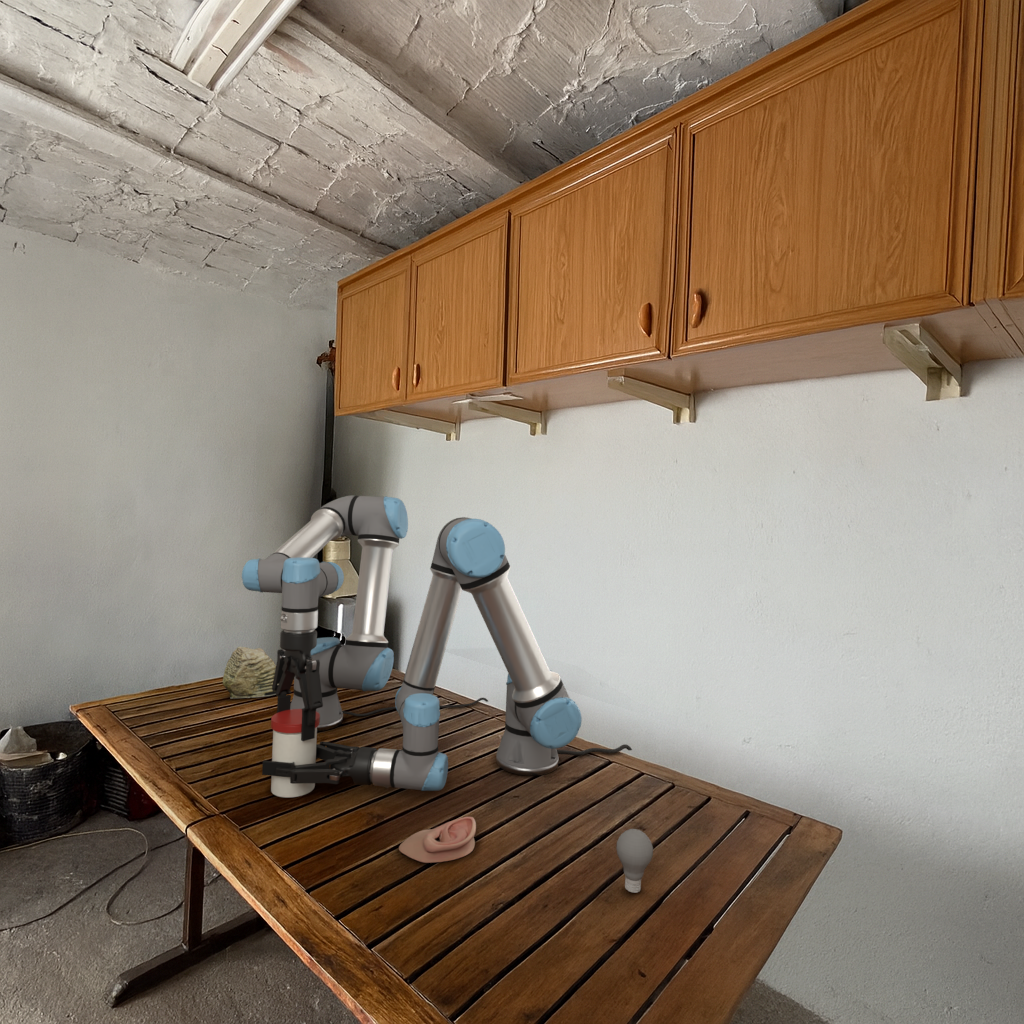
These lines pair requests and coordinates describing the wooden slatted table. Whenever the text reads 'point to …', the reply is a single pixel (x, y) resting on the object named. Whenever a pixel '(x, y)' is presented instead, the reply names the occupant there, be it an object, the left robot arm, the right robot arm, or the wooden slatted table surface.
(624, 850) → the light bulb
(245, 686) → the fossil
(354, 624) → the left robot arm
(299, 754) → the jar
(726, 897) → the wooden slatted table surface
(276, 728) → the lid
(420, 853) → the anatomical model
